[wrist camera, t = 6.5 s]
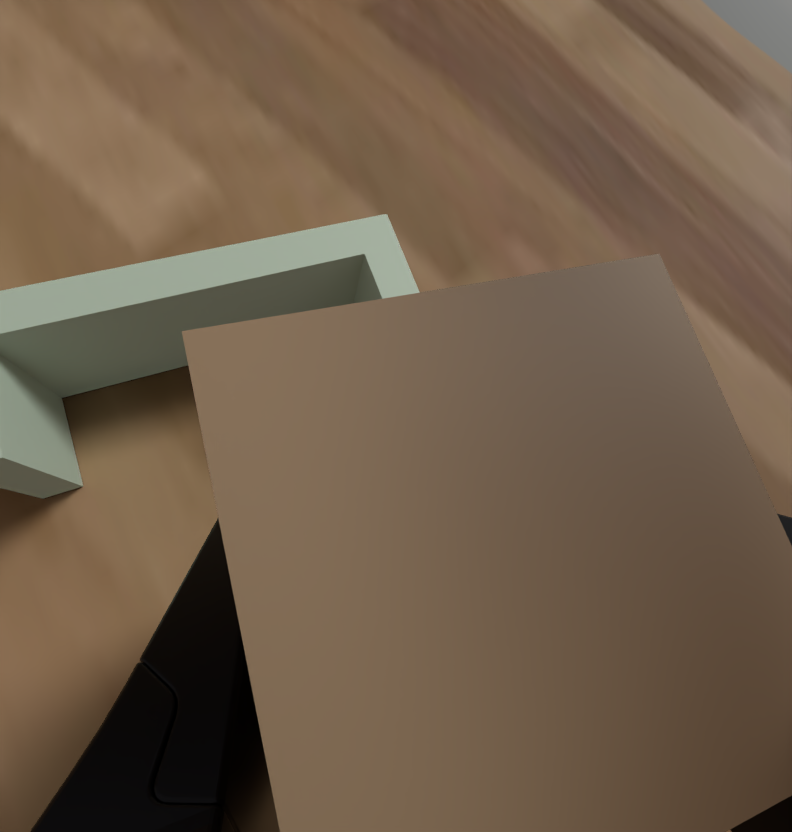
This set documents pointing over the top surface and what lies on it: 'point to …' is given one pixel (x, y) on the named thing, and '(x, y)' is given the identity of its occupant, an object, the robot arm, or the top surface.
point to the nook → (162, 326)
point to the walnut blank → (500, 561)
